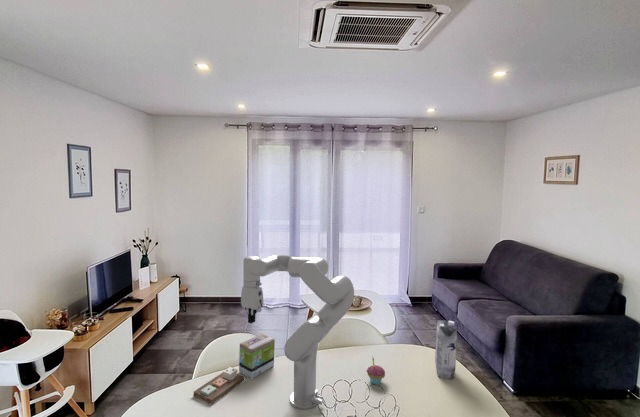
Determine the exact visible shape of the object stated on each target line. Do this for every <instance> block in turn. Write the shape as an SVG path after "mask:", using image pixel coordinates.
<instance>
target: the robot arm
mask: <svg viewBox="0 0 640 417" xmlns="http://www.w3.org/2000/svg"><path fill="white" fill-rule="evenodd" d="M242 264H243V265H242V266H243V270H242V271H243V273H242V274H243V275H242V276H243V279H242V280H243V283H242V284H243V285H242V287H241V294H240V295H241V296H240V305H241V308H243V309H244V310H245V312H246V314H247V323H248V324H254V323H255V322H256V314H257V313H261V312H262V311H263V310H262V308H263V307H264V291H263V287H262V282H261V277H265V276H269V275H270V274H272V273H275V272H288V275H289V276H290V277H291V278H300V279H301V281H303V284H305V285H306V287H307V288H309V290H311V291H312V292H313V293H314V294H315V295H316V296H317V297H318V298H319V299H320V300H321V301H322V302H324V303H325V304H324V305H323V306H322V307H321V309H319V310H318V312H316V313H315V314H313V315H312V316H311V317H310V318H308V319H307V320H306V321H304V322H303V323H302V324H301V325H300V326H299V327H298V328H297V329H296V330H295V331H294V333H292V335H291V336H289V338H288V339H287V340H286V341H285V343H284V346H283V347H284V348H283V351H284V354H285V357H286V358H287V359H288V360H290V361H291V362H293V392H291V394H290V396H289V402H290V405H292V406H293V407H294V408H296V409H299V410H308V409H312V408H314V407H316V406H317V405H320V406H322V405H323V403H324V395H320V394H319V390H318V389H316V388H317V387H316V386H317V385H316V384H317V380H316V379H317V355H318V354H317V353H318V347H319V343H321V342H322V341H323V340H324V338H326V337H327V335H328V334H329V333H330V332H331V330H332V329H333V328H334V327H335V326H336V325H337V324H338V323H339V322H340V320H342V319H343V317H344V316H345V315H346V314H347V313H348V311H349V310H350V309H351V306H352V305H353V302H354V299H355V288H354V284H353V282H352V280H351V279H350V277H348V276H345V275H336V276H334V277H332V278H331V279H330V278H328V276H326V275H327V274H328V271H329V263H328V262H327V260H325V259H324V258H322V257H318V256H317V257H313V256H312V257H310V256H308V257H307V256H305V257H303V256H302V257H300V256H299V257H298V256H290V255H285V254H283V255H282V254H281V255H280V254H279V255H278V254H274V255H270V256H266V257H263V258H260V257H259V256H257V255H249V256H245V257H244V258H243V263H242Z"/></svg>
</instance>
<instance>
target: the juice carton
mask: <svg viewBox="0 0 640 417" xmlns="http://www.w3.org/2000/svg"><path fill="white" fill-rule="evenodd" d="M455 323H456V322H455V321H452V320H445V319H444V320H443V319H438V320H437V324H436V334H435V356H434V363H435V369H436V374H437V377H439V378H444V379H450V380H453V379H454V378H455V374H456V364H457V363H456V362H457V360H456V359H457V344H458V332H457V327H456V326H455V325H456V324H455Z"/></svg>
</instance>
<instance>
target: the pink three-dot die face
mask: <svg viewBox="0 0 640 417" xmlns="http://www.w3.org/2000/svg"><path fill="white" fill-rule="evenodd" d="M227 380H228V379H227ZM227 380H225V379H222V378H219V379H217V380H216V381H214V382H213V383H212V385H213V386H215V387H217V388H221V387H223V386H224V385H225V384H227Z"/></svg>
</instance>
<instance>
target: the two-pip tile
mask: <svg viewBox="0 0 640 417" xmlns="http://www.w3.org/2000/svg"><path fill="white" fill-rule="evenodd" d="M222 373H223V378H225V379H227V380H229V381H231V380H233V379H234V378H235V377H236V376H237V374H238V369H237V368H235V367H232V366H229V367H228V368H226V369H224V370H223V371H222Z"/></svg>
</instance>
